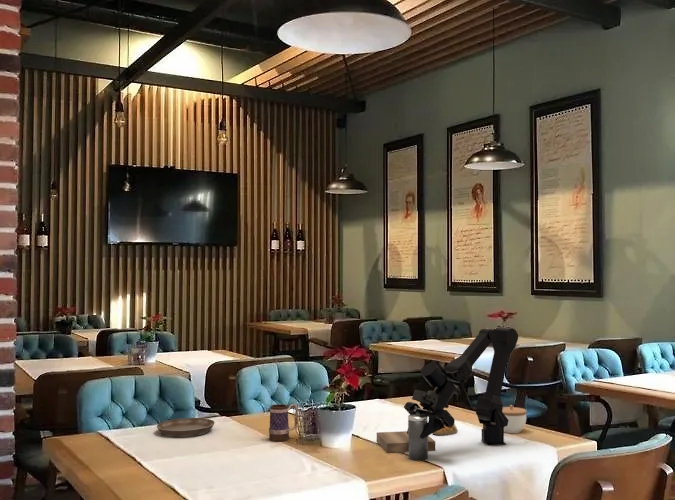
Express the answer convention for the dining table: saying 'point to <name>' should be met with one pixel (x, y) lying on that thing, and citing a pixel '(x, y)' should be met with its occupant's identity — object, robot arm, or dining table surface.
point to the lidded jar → (514, 419)
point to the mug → (280, 422)
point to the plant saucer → (185, 427)
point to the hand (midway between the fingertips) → (414, 435)
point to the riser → (398, 441)
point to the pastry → (447, 431)
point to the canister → (417, 438)
